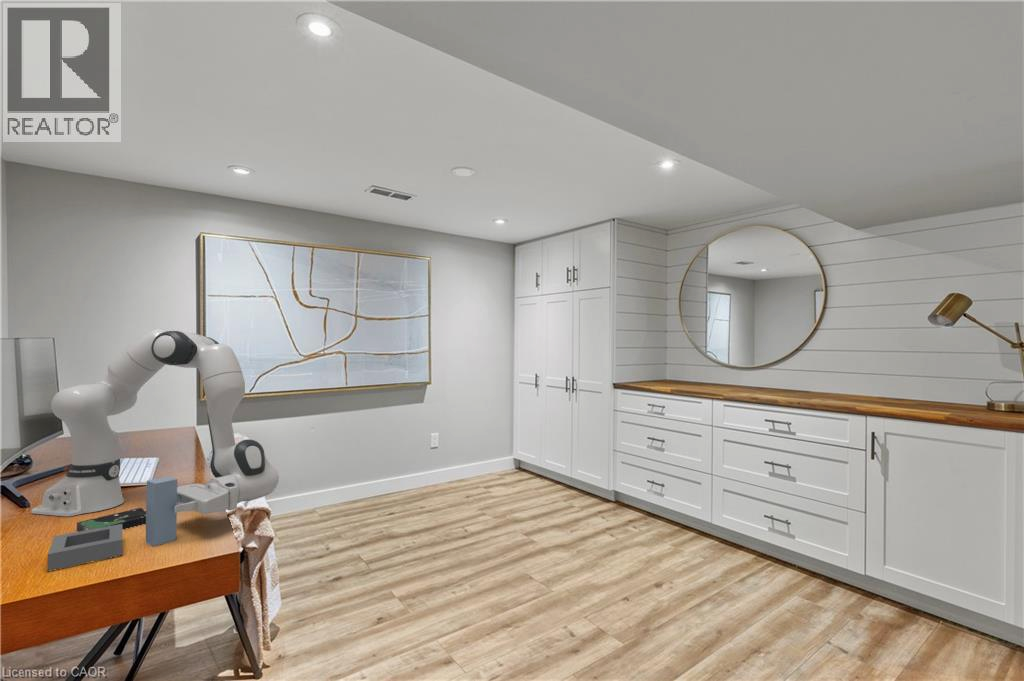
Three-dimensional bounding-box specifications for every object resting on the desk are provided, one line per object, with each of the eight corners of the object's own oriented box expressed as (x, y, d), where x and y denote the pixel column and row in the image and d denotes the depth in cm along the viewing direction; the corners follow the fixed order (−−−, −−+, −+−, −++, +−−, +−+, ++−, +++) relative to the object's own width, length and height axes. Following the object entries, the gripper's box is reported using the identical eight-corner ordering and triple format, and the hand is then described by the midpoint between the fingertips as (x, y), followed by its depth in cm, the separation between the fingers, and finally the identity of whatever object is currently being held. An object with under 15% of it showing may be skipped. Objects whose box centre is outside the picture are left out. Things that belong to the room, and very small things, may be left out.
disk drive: (140, 516, 143) (75, 532, 130) (140, 507, 143) (75, 521, 130) (155, 523, 137) (89, 540, 124) (155, 514, 137) (89, 529, 125)
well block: (53, 552, 116) (53, 536, 116) (122, 539, 124) (122, 523, 125) (47, 572, 106) (47, 554, 106) (122, 556, 114) (122, 539, 115)
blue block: (145, 542, 123) (146, 480, 123) (167, 535, 127) (168, 476, 127) (153, 546, 120) (155, 483, 120) (176, 540, 124) (177, 479, 124)
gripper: (203, 475, 142) (149, 487, 130) (239, 487, 131) (183, 500, 119) (203, 496, 142) (148, 510, 130) (239, 510, 131) (183, 526, 119)
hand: (165, 505), depth 124 cm, fingers open, 8 cm apart
